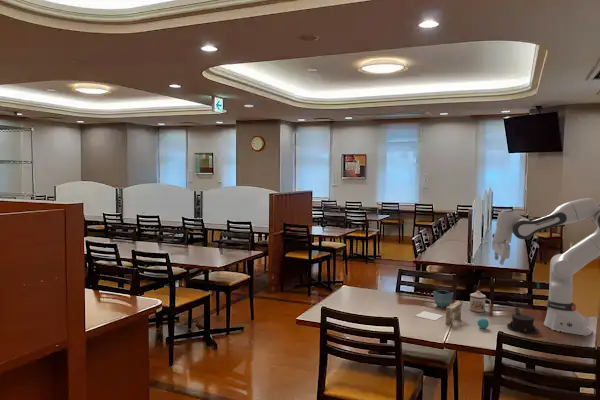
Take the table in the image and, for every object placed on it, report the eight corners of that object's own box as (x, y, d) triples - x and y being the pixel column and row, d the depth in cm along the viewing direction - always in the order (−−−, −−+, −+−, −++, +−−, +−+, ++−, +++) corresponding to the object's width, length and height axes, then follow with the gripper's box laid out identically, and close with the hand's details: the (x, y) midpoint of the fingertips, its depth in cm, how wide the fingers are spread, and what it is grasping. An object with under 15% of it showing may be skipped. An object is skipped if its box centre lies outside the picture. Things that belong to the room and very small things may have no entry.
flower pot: (431, 305, 286) (432, 291, 285) (442, 303, 290) (443, 289, 289) (442, 309, 278) (443, 294, 277) (453, 307, 282) (453, 293, 281)
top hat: (542, 330, 245) (543, 311, 244) (532, 336, 235) (533, 316, 234) (513, 323, 256) (514, 304, 255) (502, 329, 245) (503, 309, 245)
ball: (489, 328, 245) (490, 318, 245) (486, 330, 241) (486, 320, 241) (479, 325, 249) (479, 315, 248) (475, 328, 245) (476, 318, 244)
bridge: (460, 319, 260) (461, 303, 259) (450, 325, 249) (451, 308, 248) (455, 317, 262) (456, 301, 261) (445, 324, 250) (446, 307, 250)
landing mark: (443, 315, 265) (443, 315, 265) (435, 320, 255) (435, 320, 255) (423, 311, 272) (423, 311, 272) (414, 316, 263) (414, 315, 263)
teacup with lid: (469, 311, 275) (470, 292, 274) (469, 307, 283) (470, 288, 283) (491, 313, 271) (492, 294, 270) (490, 309, 280) (491, 290, 279)
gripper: (514, 243, 246) (510, 268, 248) (502, 234, 266) (499, 257, 268) (502, 241, 247) (498, 266, 249) (491, 233, 267) (488, 256, 269)
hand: (498, 261), depth 259 cm, fingers open, 8 cm apart
